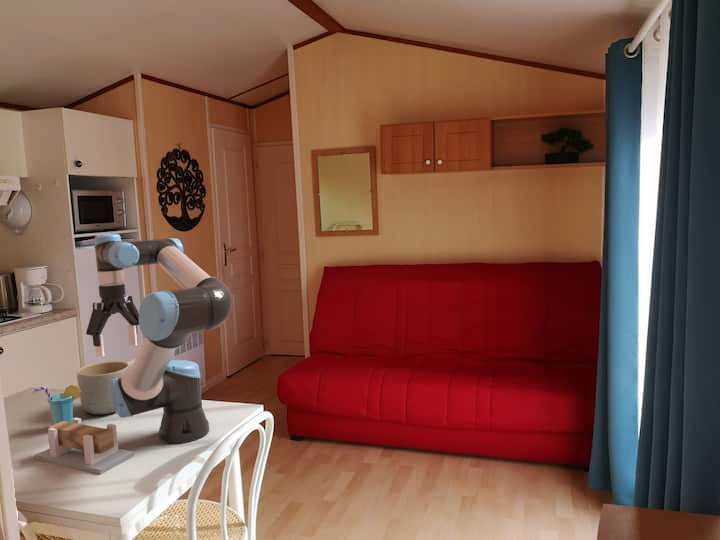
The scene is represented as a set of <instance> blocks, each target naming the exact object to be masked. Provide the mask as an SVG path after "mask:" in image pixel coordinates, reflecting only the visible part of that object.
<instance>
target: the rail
mask: <svg viewBox="0 0 720 540" xmlns="http://www.w3.org/2000/svg"><path fill="white" fill-rule="evenodd" d="M50 428H55V429H57V432H58V442H59V445H60V446H64V447H69V448H74V449H79V450H83V451H84V443H83V436H84V435H91V436H93V445H94V453H98V454H101V453H103V452H105V451H107V450H109V449H111V448H113V447H114V438H113V430H110V429H107V428H103V427H99V426H95V425H94V426H92V425H87V424H77V423H72V422H67V421H62V422H59V423H57V424H55V425H54V424H53V425H50V426H48V429H50Z"/></svg>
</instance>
